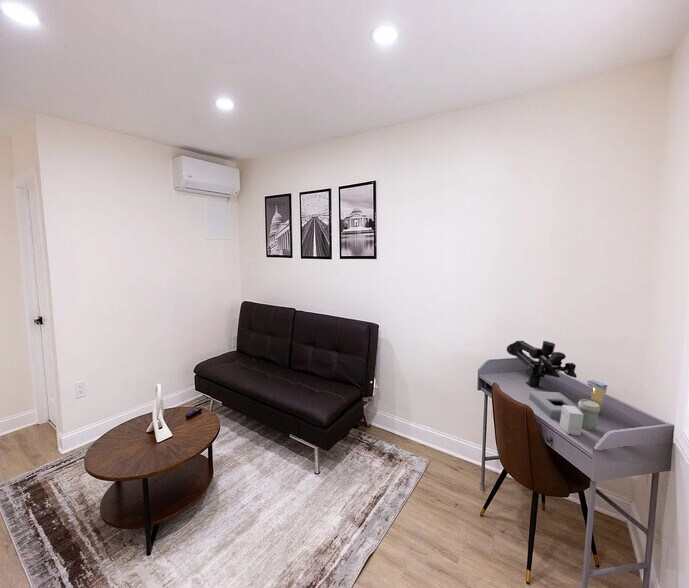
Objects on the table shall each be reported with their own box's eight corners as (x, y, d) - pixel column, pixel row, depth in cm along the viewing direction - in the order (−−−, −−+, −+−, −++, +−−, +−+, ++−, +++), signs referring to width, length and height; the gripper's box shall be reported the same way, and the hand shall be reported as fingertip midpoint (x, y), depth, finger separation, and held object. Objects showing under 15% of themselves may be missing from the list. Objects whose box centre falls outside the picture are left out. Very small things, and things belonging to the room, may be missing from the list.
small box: (580, 436, 146) (584, 414, 144) (566, 434, 147) (570, 413, 145) (572, 426, 153) (575, 405, 152) (559, 424, 155) (562, 404, 153)
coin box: (529, 398, 180) (530, 391, 179) (558, 399, 179) (559, 392, 179) (550, 418, 160) (551, 409, 159) (583, 419, 160) (584, 411, 159)
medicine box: (584, 394, 187) (587, 380, 186) (589, 393, 189) (592, 379, 187) (600, 400, 180) (602, 386, 179) (604, 399, 182) (607, 384, 180)
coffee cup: (587, 421, 158) (591, 398, 156) (601, 431, 150) (606, 407, 148) (570, 421, 158) (574, 398, 156) (583, 431, 149) (587, 407, 147)
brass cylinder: (586, 409, 170) (589, 386, 167) (595, 410, 170) (599, 386, 167) (592, 414, 165) (597, 390, 163) (602, 415, 165) (607, 391, 162)
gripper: (535, 348, 181) (554, 362, 166) (567, 349, 182) (588, 363, 167) (531, 366, 185) (549, 381, 170) (563, 367, 186) (583, 382, 171)
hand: (567, 376), depth 169 cm, fingers open, 9 cm apart
